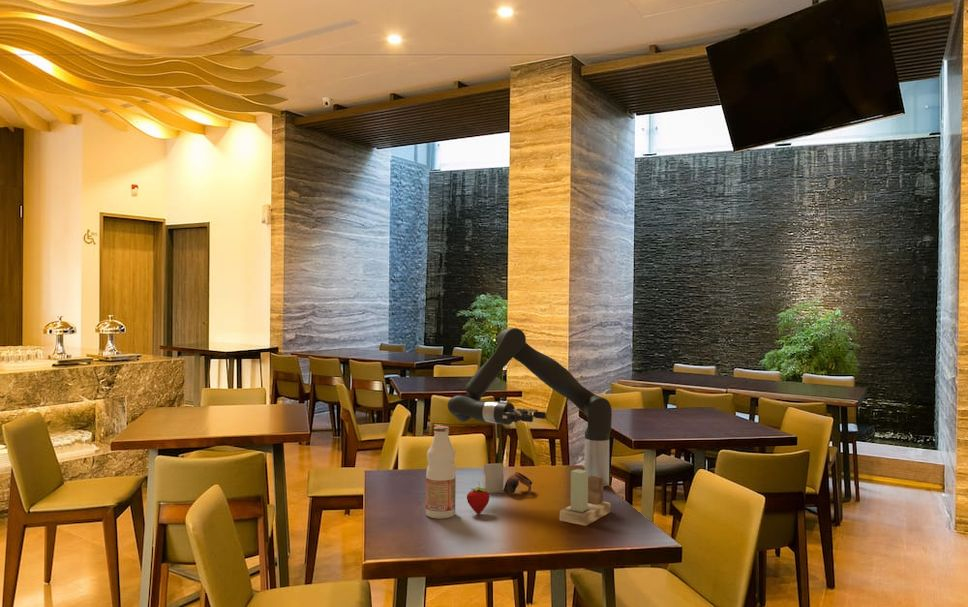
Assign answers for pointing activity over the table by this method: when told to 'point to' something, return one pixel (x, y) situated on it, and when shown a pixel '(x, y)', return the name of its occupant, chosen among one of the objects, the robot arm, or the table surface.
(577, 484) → the pillar
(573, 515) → the base slab
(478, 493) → the strawberry
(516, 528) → the table surface
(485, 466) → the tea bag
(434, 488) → the fruit juice
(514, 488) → the pottery mug
